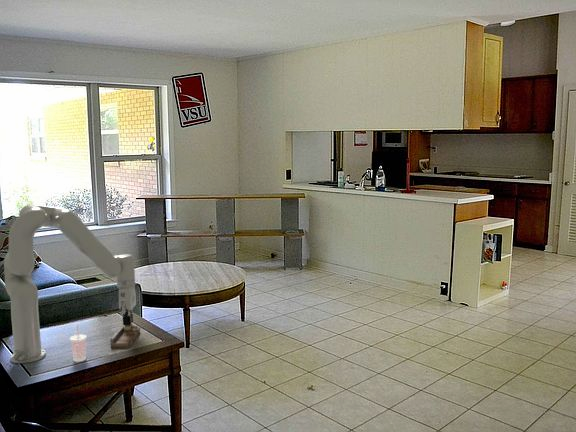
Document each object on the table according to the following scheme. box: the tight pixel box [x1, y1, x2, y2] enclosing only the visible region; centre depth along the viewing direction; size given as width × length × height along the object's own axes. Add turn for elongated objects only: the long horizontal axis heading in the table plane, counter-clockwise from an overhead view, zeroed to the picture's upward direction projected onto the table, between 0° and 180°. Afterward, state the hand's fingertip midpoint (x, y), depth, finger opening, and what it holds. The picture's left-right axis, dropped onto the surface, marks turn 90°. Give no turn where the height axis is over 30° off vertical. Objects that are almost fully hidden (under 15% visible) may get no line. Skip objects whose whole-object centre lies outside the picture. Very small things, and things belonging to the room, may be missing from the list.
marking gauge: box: [124, 311, 138, 332], centre depth 232 cm, size 4×5×8 cm
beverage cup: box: [69, 324, 88, 363], centre depth 206 cm, size 6×6×14 cm
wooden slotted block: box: [109, 324, 141, 349], centre depth 227 cm, size 18×7×4 cm, turn 0°
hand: (128, 323), depth 232 cm, fingers closed on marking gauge, 2 cm apart
